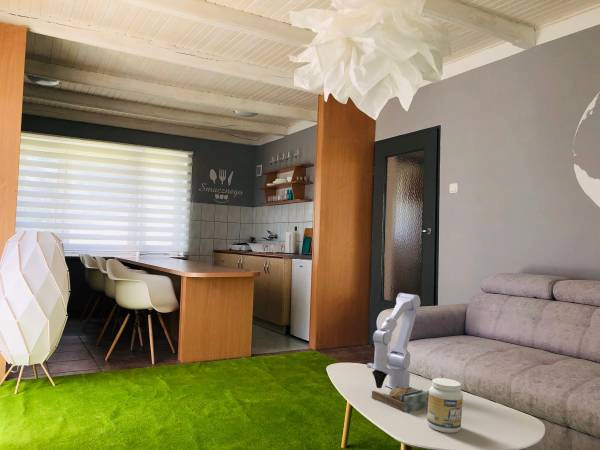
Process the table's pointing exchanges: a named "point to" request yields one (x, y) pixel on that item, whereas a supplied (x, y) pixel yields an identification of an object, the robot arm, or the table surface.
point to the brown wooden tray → (409, 403)
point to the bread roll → (398, 392)
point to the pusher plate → (409, 394)
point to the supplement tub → (445, 405)
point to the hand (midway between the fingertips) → (379, 387)
